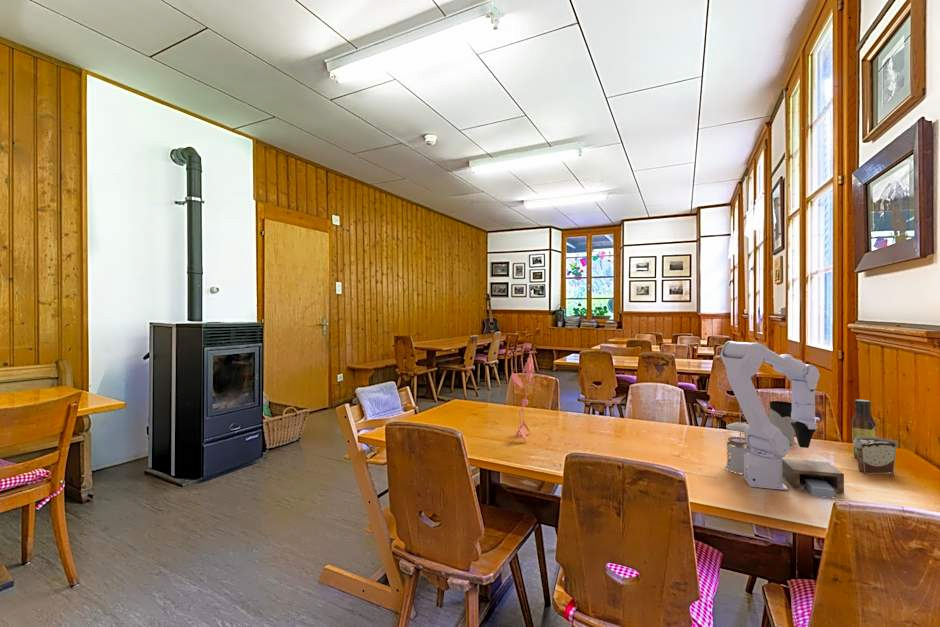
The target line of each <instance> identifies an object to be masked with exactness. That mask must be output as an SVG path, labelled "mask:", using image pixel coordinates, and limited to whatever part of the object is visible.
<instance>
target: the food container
mask: <svg viewBox="0 0 940 627" xmlns="http://www.w3.org/2000/svg"><path fill="white" fill-rule="evenodd" d="M853 445H854V446H855V447H856V451H857V458H856V459H857V464H858V465H857V466H858V471H859V472H860V473H861V472H862V474H863V473H864V474H863V475H875V474H874V473H886V474H894V473H895V463H896V454H897V453H896V452H897V448H899V445H898V443H897V440H893V439H888V438H884V437H877V436H876V437H857V438H855V440H854V443H853V442H852V446H853ZM889 472H890V473H889Z"/></svg>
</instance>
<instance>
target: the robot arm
mask: <svg viewBox="0 0 940 627" xmlns="http://www.w3.org/2000/svg"><path fill="white" fill-rule="evenodd" d="M719 356H720V358H721V361H722V363H723V365H724V367H725V373H726V378H727V381H728V383H729V385H730V388H731V390H732V392H733V393H734V396H735V398H736V400H737V403H738V405H739V408H740V409H741V412H742V414H743V415H744V418H745V420H746V421H747V424H748V426H747V427H746V429H745V430H744V432H745V434H744V436H745V435H746V442H747V445H748V446H749V447H750V448H751V452H752V453H745V454H744V475H743V479H744V480H745V482H746V483H747V484H748V485H749V487H751V488H761V489H769V490H770V489H771V490H782V491H788V490H789V488H788V487H787V486H786V485H785V484H784V483H783V479H784V478H783V477H782V459H783V458H786V456H787V455H788V453H789V451H790V449H791V448H790V447H791V445H790V443H789V440H788V438H787V437H786V436H784V435H783V433H782V431H781V430H780V429H779V428H777V427H776V426H774V425H773V424H772V423H771V422H770V420H769V415H768V414H767V412H766V409H765V407H764V406H763V403H762V401H761V399H760V396H759V395H758V392H757V390H756V388H755V386H754V383H753V381H752V379H751V378H752V377H754V376H755V375H756V374H757V372H758V370H759V369H760V368H761V366H762V364H763V363H767V364H768V365H771V366H772V368H773V370H774V371H776V372H777V373H780V374H781V375H783V376H785V377H786V378H787V379H788V381H791V403H792V412H791V419H793V420H794V422H791V425H792V427H793V429H794V431H795V434H794V435H795V436H796V441H797V444H798V446H799V447H800V448H805V449H809V448H810V445H811V441H812V438H813V435H814V433H815V432H816V431H817V430H818V423H817V421H819V422H820V420H821V419H820V417H816V389H817V387H818V382H819V380H820V376H821V373H819V368H818V367H816V365H815V366H814V365H813V364H806V363H804V362H803V360H801V359H796V358H794V355H793V354H791V353H784V354H778V353H777V352H774V351H773V350H771V349H769V348H768V347H767V345H766V344H761V343H760V342H743V341H733V340H728V341H726V342H725V343H724V344H723V345H722V348H721V351H720V354H719ZM744 432H743V433H744Z"/></svg>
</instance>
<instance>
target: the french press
mask: <svg viewBox="0 0 940 627" xmlns="http://www.w3.org/2000/svg"><path fill="white" fill-rule="evenodd" d="M741 413H742V409H741V408H739V421H737V422H732V423H729V424H726V426H725V427H726V429H728V430H730V431H733V432H737V433H739V436H730V437H728V438H727V441H728V442H726V464H725V465H726V466H725V465H724V466H725V468H726V469H728V470H730V471H733V472H736V473H742V474H744V454H745V453H752V452H751V448H750V447H749V446H748V445H747V442H746V435H745V432H744V430H745V429H746V427H747V426H748V425H749V424H748V423H746V422H742V421H741V418H742V415H741ZM742 435H744V437H742ZM745 447H746V448H745Z"/></svg>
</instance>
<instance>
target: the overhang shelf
mask: <svg viewBox="0 0 940 627" xmlns="http://www.w3.org/2000/svg"><path fill="white" fill-rule="evenodd" d="M782 477H783V479H784V480H785V481H786V482H787V483H788V484H789V485H790V486H791V487H792V488H793V489H796V490H805V479H813V480H822V481H827V483H828V484H829V485H830V486H831V487H832V488H833V489H834V493H835V492H838V493H837V494H845V473H843V472H842V471H841V470H839V469H838V468H837V467H836V466H834V464H831V463H830V461H829V462H828V461H816V460H807V459H795V458H794V459H792V458H782ZM800 480H801V481H800Z"/></svg>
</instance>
